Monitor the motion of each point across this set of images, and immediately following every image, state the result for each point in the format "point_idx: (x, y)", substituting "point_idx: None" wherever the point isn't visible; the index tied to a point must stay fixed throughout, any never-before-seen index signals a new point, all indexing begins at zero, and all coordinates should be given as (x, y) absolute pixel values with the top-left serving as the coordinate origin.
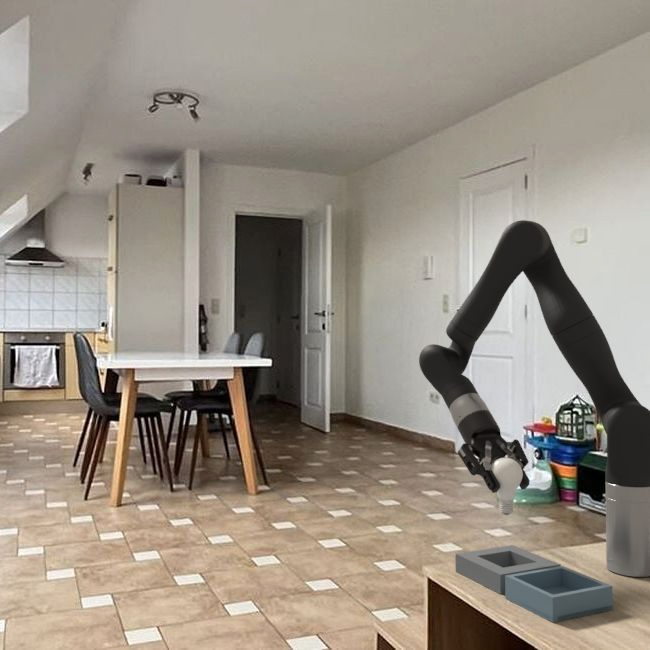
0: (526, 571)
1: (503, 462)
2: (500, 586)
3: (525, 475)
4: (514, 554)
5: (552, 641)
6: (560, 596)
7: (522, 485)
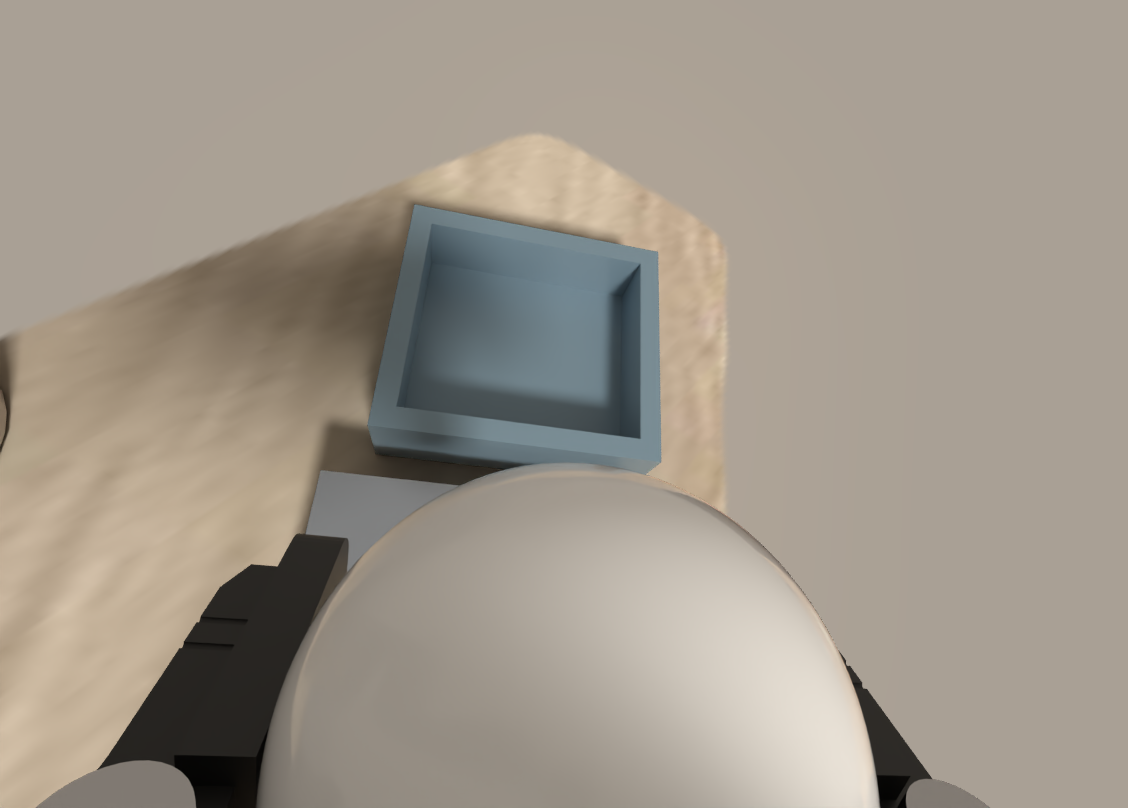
0: None
1: (798, 623)
2: None
3: (206, 650)
4: None
5: (706, 237)
6: (629, 246)
7: None
